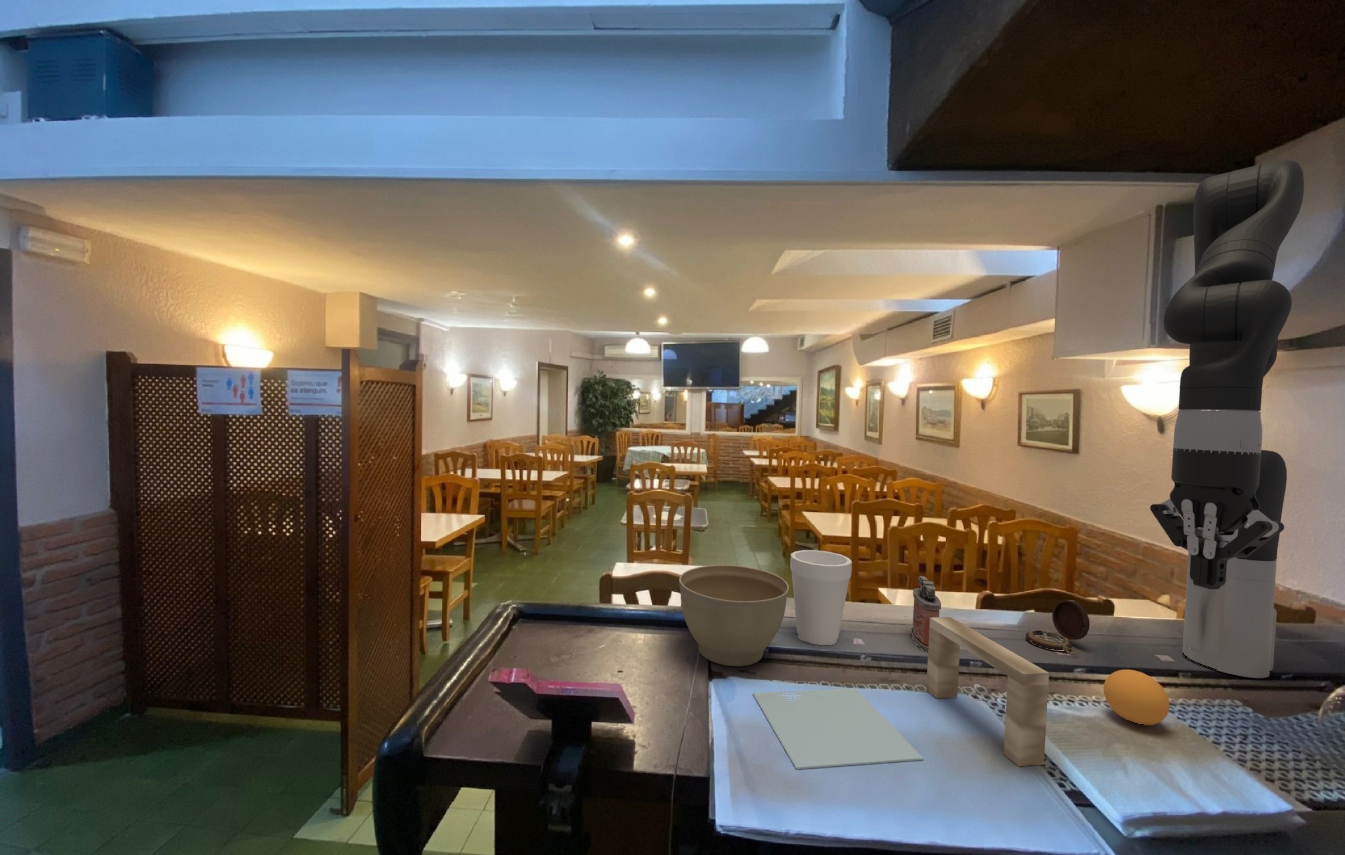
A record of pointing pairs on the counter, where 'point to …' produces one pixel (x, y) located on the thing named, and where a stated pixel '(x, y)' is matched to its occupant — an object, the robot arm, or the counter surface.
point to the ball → (1136, 697)
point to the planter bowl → (732, 611)
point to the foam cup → (819, 593)
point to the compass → (1063, 627)
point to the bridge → (1022, 685)
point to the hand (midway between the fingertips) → (1206, 587)
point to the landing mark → (833, 729)
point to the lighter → (924, 611)
